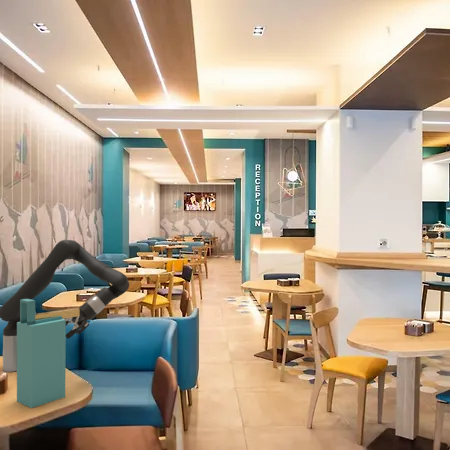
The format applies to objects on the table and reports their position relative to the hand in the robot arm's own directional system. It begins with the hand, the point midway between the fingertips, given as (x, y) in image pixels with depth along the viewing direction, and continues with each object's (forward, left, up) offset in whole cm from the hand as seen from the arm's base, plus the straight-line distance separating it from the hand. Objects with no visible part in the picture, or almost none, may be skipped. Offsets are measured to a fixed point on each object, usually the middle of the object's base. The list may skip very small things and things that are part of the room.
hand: (62, 333), depth 206 cm
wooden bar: (+5, -7, +8) cm, 12 cm away
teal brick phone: (+4, -13, -24) cm, 28 cm away
